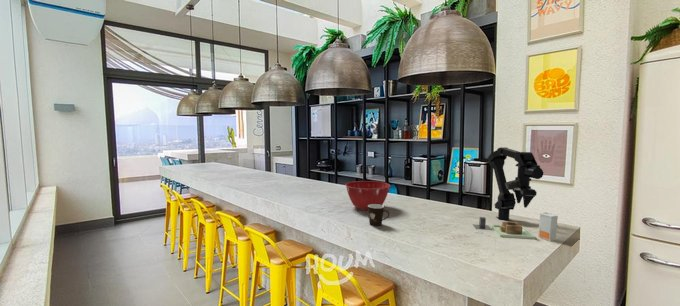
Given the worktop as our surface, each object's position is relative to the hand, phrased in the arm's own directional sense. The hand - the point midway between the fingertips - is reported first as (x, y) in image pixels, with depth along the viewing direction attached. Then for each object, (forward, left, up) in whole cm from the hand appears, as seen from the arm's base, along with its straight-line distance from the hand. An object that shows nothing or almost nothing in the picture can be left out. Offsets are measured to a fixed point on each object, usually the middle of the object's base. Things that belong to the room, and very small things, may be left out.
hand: (521, 205), depth 170 cm
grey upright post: (+5, -20, -12) cm, 24 cm away
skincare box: (+16, +6, -12) cm, 21 cm away
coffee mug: (+11, -75, -12) cm, 77 cm away
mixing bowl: (-24, -83, -12) cm, 87 cm away
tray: (+11, -8, -12) cm, 18 cm away
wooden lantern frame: (+11, -8, -11) cm, 18 cm away
